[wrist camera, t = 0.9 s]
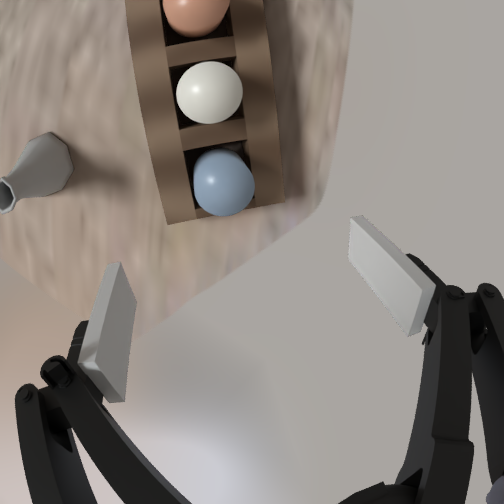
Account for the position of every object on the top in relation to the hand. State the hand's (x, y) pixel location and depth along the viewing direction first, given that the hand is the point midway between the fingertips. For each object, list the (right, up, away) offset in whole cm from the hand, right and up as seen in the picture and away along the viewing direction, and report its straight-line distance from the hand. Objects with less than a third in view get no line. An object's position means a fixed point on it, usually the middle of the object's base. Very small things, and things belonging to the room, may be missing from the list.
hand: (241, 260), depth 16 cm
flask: (-22, +10, +11) cm, 27 cm away
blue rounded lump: (-3, +8, +13) cm, 16 cm away
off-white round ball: (-4, +15, +9) cm, 18 cm away
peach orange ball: (-4, +22, +4) cm, 22 cm away
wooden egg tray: (-4, +16, +11) cm, 20 cm away
